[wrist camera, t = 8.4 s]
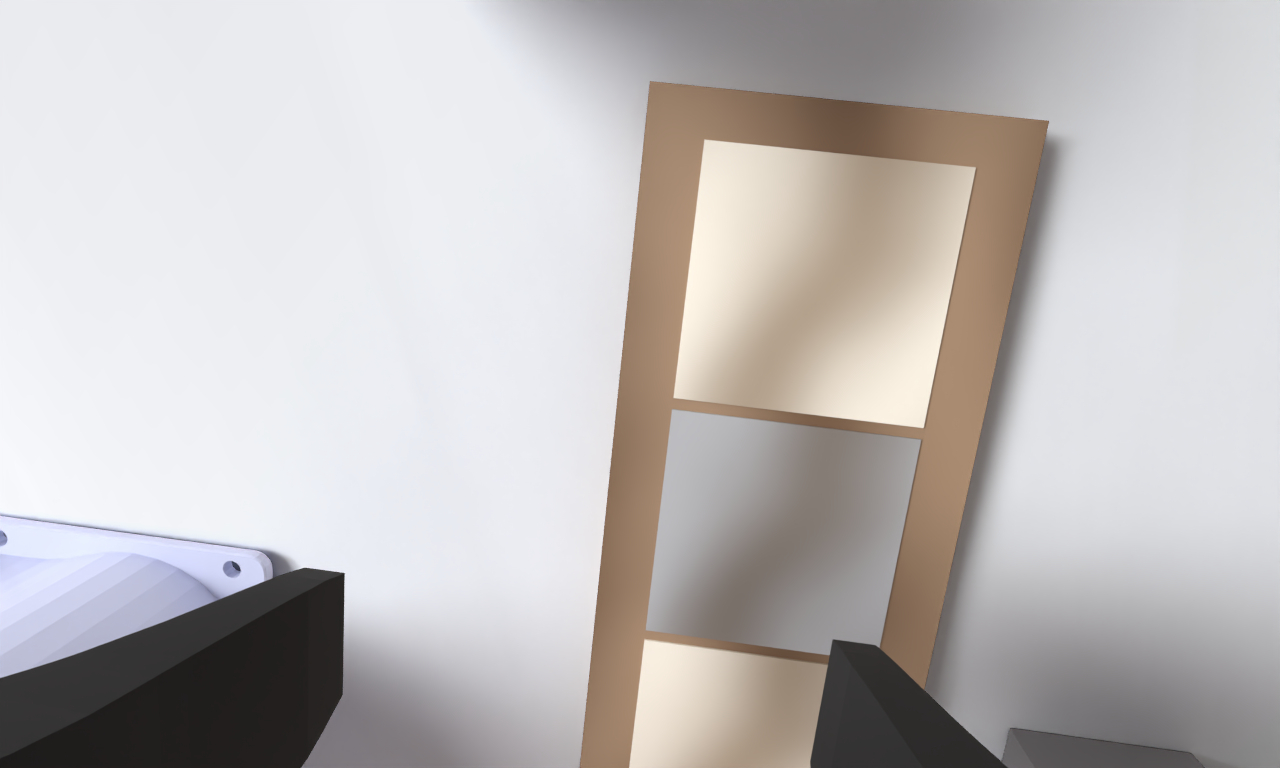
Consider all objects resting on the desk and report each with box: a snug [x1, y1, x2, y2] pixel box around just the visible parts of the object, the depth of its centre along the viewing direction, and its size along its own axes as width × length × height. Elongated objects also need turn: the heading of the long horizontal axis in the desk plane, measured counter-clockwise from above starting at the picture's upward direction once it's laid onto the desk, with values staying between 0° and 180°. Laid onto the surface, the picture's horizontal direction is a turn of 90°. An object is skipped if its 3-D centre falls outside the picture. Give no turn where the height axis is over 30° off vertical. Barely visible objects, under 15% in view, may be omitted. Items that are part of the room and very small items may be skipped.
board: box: [580, 81, 1049, 768], centre depth 20 cm, size 9×28×1 cm, turn 174°
